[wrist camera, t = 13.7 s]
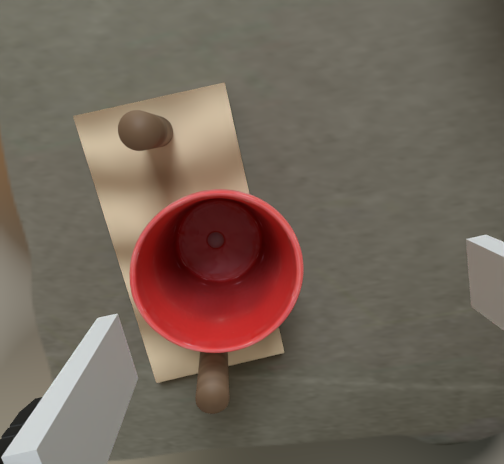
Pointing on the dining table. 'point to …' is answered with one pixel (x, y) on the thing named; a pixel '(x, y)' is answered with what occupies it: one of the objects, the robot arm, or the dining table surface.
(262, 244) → the flower pot
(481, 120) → the dining table surface
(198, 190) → the rack
